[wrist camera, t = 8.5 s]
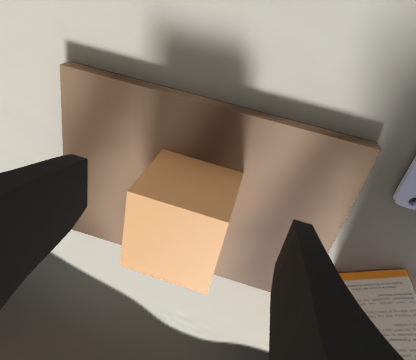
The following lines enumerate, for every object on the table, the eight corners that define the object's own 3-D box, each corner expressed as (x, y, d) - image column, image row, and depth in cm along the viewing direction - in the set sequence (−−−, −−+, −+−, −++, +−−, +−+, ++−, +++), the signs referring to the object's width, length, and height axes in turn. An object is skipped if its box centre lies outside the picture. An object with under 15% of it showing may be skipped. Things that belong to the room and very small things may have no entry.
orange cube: (243, 172, 20) (228, 222, 16) (224, 236, 22) (207, 294, 18) (162, 148, 20) (127, 191, 16) (153, 214, 23) (120, 265, 19)
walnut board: (377, 142, 18) (381, 150, 17) (302, 291, 24) (303, 302, 24) (70, 61, 20) (60, 64, 19) (73, 219, 26) (65, 227, 25)
